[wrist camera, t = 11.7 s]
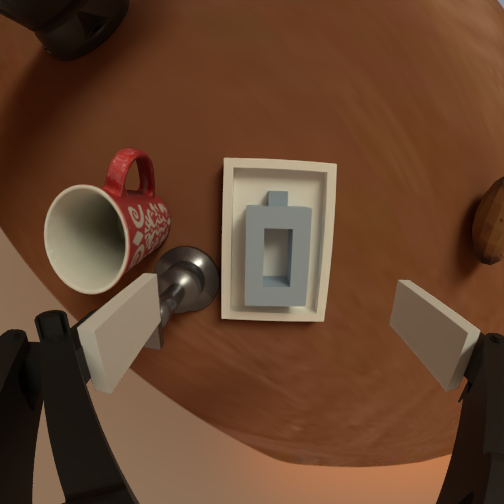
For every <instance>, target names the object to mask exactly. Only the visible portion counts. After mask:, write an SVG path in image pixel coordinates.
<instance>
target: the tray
mask: <svg viewBox="0 0 504 504" xmlns="http://www.w3.org/2000/svg"><path fill="white" fill-rule="evenodd" d="M336 170H337V164H332V163H321V162H309V161H295V160H278V159H253V158H224V176H223V211H222V319H239V320H264V321H324V316H325V308H326V300H327V292H328V283H329V274H330V264H331V253H332V242H333V229H334V214H335V196H336ZM268 191H288V206H306V207H309V208H312V218H311V239H310V256H309V271H308V284H307V297H306V306H246V305H245V257H246V206H247V205H268ZM288 233H289V229H272V228H264V262H263V276H287V256H288Z"/></svg>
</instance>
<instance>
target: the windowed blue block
mask: <svg viewBox="0 0 504 504" xmlns="http://www.w3.org/2000/svg"><path fill="white" fill-rule="evenodd" d="M311 218H312V208H309V207H306V206H288V191H268V205H247V206H246V257H245V305H246V306H306V297H307V284H308V271H309V256H310V239H311ZM264 228H272V229H289V233H288V256H287V276H263V262H264Z"/></svg>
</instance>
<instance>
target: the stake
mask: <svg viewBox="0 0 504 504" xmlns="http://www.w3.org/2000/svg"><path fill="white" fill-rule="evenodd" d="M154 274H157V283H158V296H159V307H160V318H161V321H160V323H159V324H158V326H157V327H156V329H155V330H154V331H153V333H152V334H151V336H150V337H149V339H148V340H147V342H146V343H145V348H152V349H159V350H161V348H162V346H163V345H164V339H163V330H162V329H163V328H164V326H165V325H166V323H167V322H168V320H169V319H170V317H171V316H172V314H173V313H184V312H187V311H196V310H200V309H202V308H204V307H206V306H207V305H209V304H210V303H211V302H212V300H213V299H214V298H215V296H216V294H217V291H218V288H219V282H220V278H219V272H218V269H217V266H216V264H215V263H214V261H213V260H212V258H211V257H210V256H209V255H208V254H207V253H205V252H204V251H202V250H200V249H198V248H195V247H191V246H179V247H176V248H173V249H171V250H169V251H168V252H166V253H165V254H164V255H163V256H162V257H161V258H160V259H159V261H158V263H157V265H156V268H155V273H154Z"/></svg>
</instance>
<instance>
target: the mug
mask: <svg viewBox="0 0 504 504" xmlns="http://www.w3.org/2000/svg"><path fill="white" fill-rule="evenodd" d="M135 160H136V162H137V166H138V171H139V177H140V187H139V189H138V190H137V191H133V190H126V189H125V179H126V176H127V173H128V170H129V168H130V166H131V165H132V163H133V162H134V161H135ZM169 230H170V214H169V211H168V208H167V206H166V204H165V203H164V202H163V200H162V199H161V198H160V197H158V196H157V195H155V179H154V169H153V164H152V161H151V159H150V157H149V155H148V154H146V153H145V152H143V151H141V150H138V149H135V148H124V149H122V150H120V151H119V152H118V153H117V154H116V155H115V156H114V158H113V159H112V161H111V163H110V165H109V168H108V171H107V175H106V181H105V185H104V187H103V188H98V187H96V186H92V185H87V184H80V185H74V186H71V187H69V188H67V189H66V190H64V191H63V192H61V193H60V194H59V195H58V196H57V197H56V198H55V200H54V201H53V203H52V204H51V206H50V208H49V211H48V213H47V217H46V221H45V227H44V242H45V248H46V252H47V256H48V258H49V261H50V263H51V265H52V267H53V269H54V271H55V272H56V274H57V275H58V276H59V278H60V279H61V280H62V281H63V282H64V283H65V284H66V285H68V286H69V287H71V288H72V289H74V290H76V291H78V292H81V293H84V294H100V293H103V292H105V291H108V290H109V289H111V288H112V287H113V286H115V285H116V284H117V283H118V281H119V280H120V279H121V277H122V276H123V275H124V274H125V273H126V272H127V271H129V270H130V269H131V268H132V267H134V266H135V265H136V264H137V263H138V262H140V261H141V260H142V259H143V258H145V257H146V256H147V255H148V254H150V253H151V252H152V251H154V250H155V249H157V248H158V247H159V246H160V245H161V244H162V243H163V242H164V241H165V239H166V238H167V236H168V233H169Z"/></svg>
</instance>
